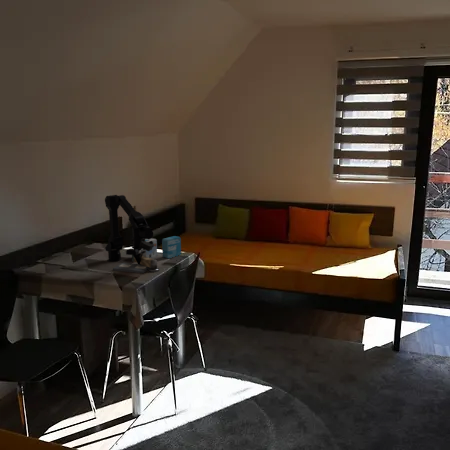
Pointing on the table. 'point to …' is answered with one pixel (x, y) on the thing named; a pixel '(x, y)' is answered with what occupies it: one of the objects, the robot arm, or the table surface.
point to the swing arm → (147, 262)
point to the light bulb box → (152, 252)
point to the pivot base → (153, 270)
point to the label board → (131, 268)
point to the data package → (171, 247)
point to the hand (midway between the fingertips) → (139, 264)
